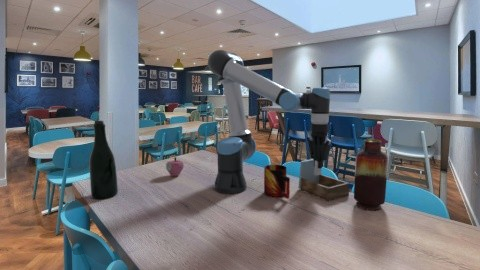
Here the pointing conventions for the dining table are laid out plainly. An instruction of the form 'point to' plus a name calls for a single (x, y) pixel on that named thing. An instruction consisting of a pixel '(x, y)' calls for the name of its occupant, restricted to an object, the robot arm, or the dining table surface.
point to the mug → (276, 181)
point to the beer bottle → (102, 165)
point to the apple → (174, 167)
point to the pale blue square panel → (308, 172)
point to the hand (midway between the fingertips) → (317, 174)
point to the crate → (326, 188)
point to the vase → (370, 176)
